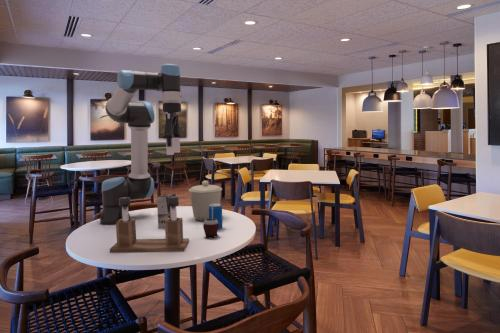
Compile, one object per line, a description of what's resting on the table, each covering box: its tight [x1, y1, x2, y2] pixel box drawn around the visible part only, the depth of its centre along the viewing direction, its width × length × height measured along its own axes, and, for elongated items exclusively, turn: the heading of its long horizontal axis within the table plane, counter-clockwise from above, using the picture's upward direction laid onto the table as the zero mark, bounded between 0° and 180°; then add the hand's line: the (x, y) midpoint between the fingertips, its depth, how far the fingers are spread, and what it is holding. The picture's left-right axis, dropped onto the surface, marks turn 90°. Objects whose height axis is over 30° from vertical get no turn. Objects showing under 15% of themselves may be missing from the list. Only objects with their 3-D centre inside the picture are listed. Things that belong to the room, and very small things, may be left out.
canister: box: [188, 180, 223, 222], centre depth 191 cm, size 18×18×21 cm
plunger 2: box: [168, 196, 179, 221], centre depth 146 cm, size 4×4×18 cm
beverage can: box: [209, 203, 223, 231], centre depth 171 cm, size 6×6×12 cm
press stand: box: [109, 217, 190, 254], centre depth 146 cm, size 12×30×12 cm, turn 90°
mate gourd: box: [202, 202, 219, 239], centre depth 159 cm, size 8×8×15 cm
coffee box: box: [156, 193, 176, 230], centre depth 177 cm, size 9×6×16 cm
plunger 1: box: [119, 197, 131, 222], centre depth 145 cm, size 4×4×18 cm
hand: (173, 153), depth 148 cm, fingers open, 13 cm apart
